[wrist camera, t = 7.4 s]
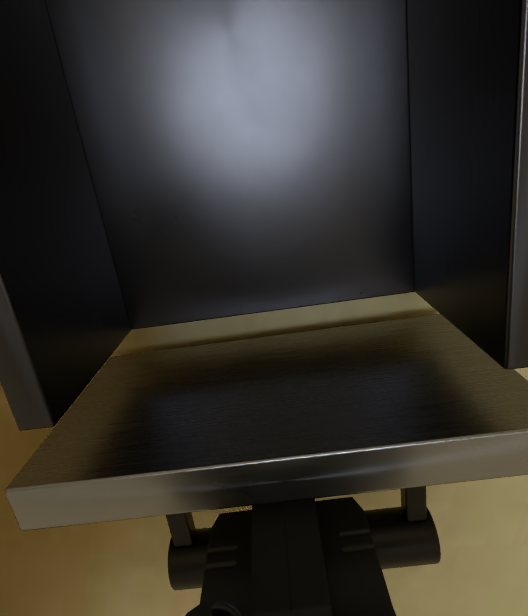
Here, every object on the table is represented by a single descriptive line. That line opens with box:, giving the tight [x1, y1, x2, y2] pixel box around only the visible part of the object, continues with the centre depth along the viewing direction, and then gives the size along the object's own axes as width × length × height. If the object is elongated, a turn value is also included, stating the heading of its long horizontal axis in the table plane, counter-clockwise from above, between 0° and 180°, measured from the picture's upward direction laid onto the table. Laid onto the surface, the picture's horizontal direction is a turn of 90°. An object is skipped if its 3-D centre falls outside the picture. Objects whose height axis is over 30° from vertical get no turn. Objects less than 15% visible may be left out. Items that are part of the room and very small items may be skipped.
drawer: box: [0, 0, 528, 590], centre depth 10 cm, size 24×12×7 cm, turn 8°
